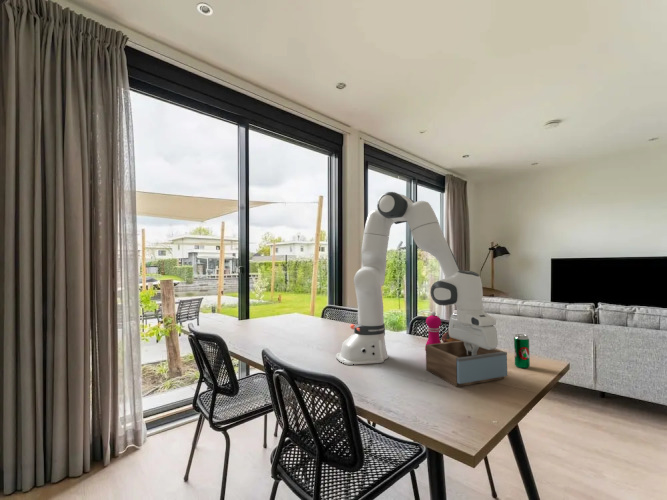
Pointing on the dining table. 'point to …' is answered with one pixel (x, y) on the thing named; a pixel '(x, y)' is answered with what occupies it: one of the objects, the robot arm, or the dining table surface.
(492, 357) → the panel
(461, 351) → the box
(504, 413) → the dining table surface
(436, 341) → the pepper mill
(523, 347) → the soda can
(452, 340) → the decorative turtle
